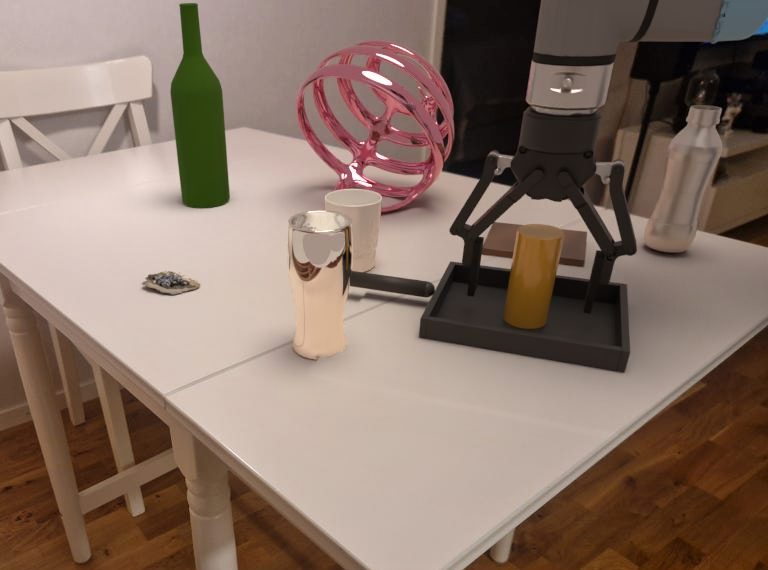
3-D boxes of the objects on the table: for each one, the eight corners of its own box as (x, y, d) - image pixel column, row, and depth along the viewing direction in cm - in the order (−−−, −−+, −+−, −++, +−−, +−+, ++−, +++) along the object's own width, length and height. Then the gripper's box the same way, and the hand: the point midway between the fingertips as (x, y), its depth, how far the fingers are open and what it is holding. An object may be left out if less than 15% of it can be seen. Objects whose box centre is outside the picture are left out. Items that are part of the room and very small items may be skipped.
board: (585, 240, 101) (587, 231, 100) (582, 270, 92) (584, 260, 91) (492, 230, 106) (493, 221, 105) (480, 257, 97) (481, 247, 96)
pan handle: (435, 294, 83) (437, 280, 82) (432, 301, 81) (433, 286, 80) (345, 281, 87) (345, 267, 86) (340, 287, 85) (340, 273, 84)
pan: (621, 305, 82) (627, 283, 81) (623, 376, 68) (630, 351, 67) (447, 281, 90) (450, 261, 88) (418, 341, 76) (420, 318, 74)
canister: (548, 313, 80) (565, 226, 74) (544, 332, 76) (563, 241, 70) (505, 307, 82) (519, 221, 76) (500, 324, 78) (514, 236, 72)
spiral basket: (345, 115, 91) (436, -18, 97) (231, 135, 112) (312, 25, 119) (436, 247, 107) (508, 126, 114) (321, 243, 129) (388, 141, 135)
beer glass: (301, 328, 79) (300, 206, 71) (357, 337, 77) (362, 212, 69) (280, 356, 74) (275, 227, 66) (339, 367, 71) (342, 235, 64)
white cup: (348, 280, 91) (350, 209, 85) (313, 263, 96) (313, 196, 91) (390, 266, 95) (394, 197, 89) (353, 250, 100) (356, 185, 95)
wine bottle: (238, 196, 125) (226, 1, 108) (212, 210, 118) (195, 5, 101) (199, 191, 128) (182, 1, 111) (172, 204, 121) (149, 5, 105)
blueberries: (153, 273, 94) (151, 261, 93) (207, 276, 93) (206, 263, 92) (136, 293, 88) (134, 280, 88) (193, 296, 87) (192, 283, 86)
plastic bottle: (653, 238, 101) (691, 101, 91) (698, 250, 97) (744, 107, 87) (631, 248, 98) (668, 107, 88) (677, 261, 94) (721, 114, 83)
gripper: (434, 108, 68) (418, 297, 79) (705, 122, 59) (644, 331, 70) (449, 96, 73) (431, 273, 84) (697, 107, 65) (641, 302, 76)
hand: (527, 299), depth 77 cm, fingers open, 12 cm apart
